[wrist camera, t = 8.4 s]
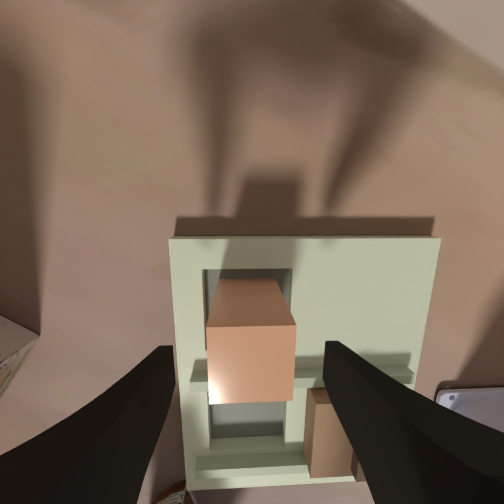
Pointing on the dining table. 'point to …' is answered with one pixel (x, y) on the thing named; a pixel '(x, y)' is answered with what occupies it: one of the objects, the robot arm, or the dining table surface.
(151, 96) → the dining table surface
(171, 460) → the dining table surface
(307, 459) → the cover
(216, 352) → the block
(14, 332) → the coffee box
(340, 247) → the board
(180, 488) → the food container
